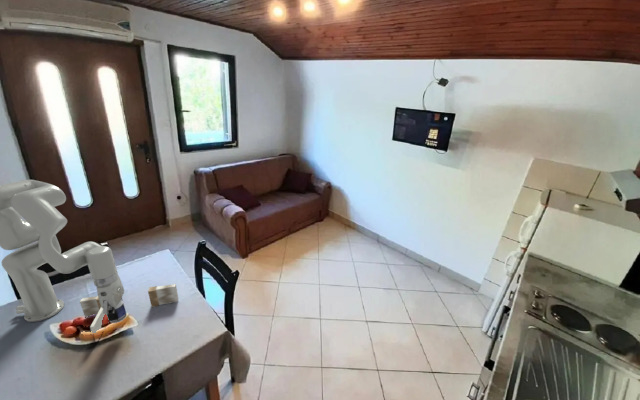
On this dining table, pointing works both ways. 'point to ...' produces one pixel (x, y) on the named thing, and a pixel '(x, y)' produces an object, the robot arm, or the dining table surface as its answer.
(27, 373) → the dining table surface
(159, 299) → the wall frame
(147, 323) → the dining table surface
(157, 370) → the dining table surface
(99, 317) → the white rectangular slab
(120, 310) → the pill bottle
